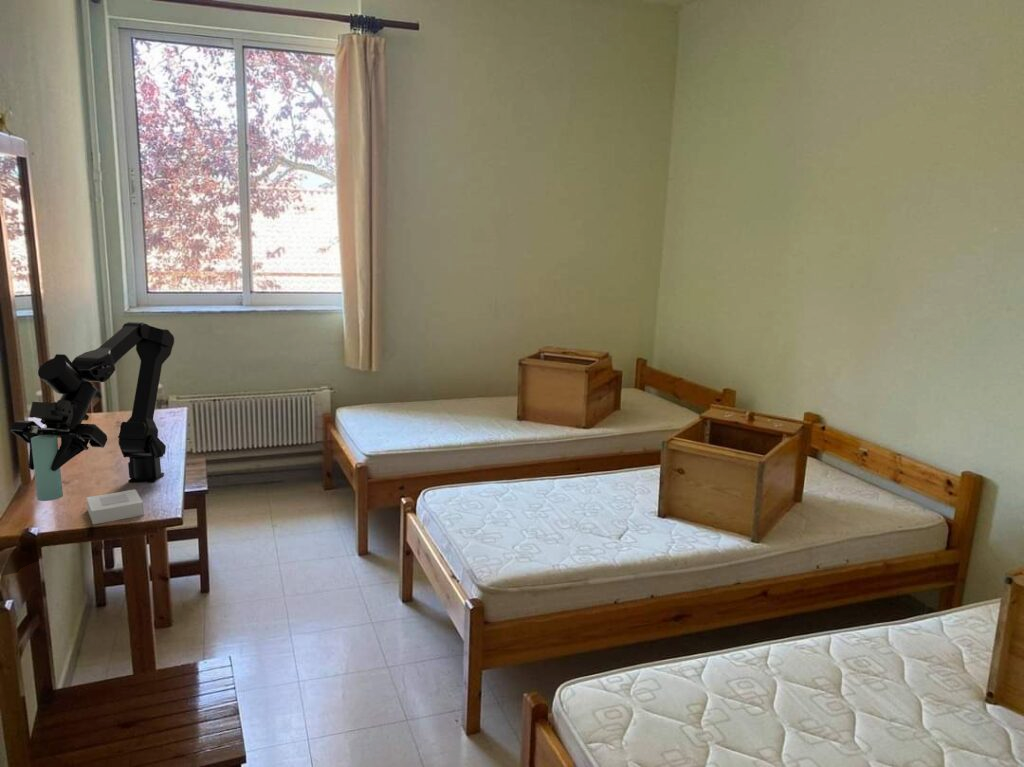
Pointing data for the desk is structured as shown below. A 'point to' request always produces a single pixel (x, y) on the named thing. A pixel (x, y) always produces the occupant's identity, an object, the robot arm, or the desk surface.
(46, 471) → the pillar
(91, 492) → the desk surface
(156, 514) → the desk surface
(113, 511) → the plinth
